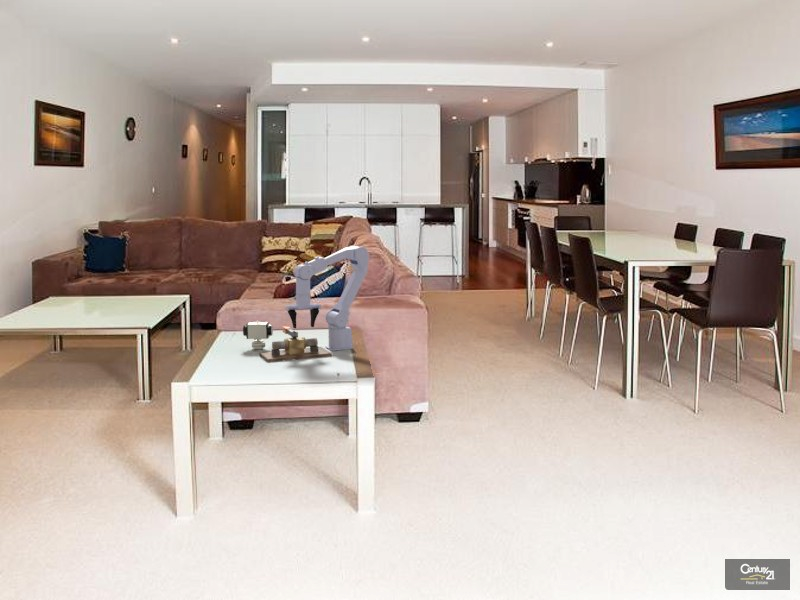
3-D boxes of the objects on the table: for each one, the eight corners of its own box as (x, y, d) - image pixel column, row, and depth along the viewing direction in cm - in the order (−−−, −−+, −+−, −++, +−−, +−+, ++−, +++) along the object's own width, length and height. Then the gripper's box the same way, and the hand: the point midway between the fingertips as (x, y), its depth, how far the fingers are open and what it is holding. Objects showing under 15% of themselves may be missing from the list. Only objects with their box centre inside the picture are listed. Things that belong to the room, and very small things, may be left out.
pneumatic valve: (271, 349, 334) (270, 321, 332) (243, 350, 334) (242, 321, 332) (273, 347, 339) (272, 319, 337) (246, 347, 339) (245, 319, 337)
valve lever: (298, 337, 320) (298, 332, 320) (292, 338, 319) (292, 332, 319) (288, 331, 334) (288, 326, 334) (282, 331, 333) (282, 326, 333)
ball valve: (320, 349, 334) (320, 332, 333) (331, 356, 321) (331, 337, 320) (259, 355, 323) (258, 337, 322) (267, 362, 311) (267, 343, 310)
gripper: (288, 296, 318) (288, 330, 320) (323, 294, 324) (323, 327, 326) (283, 294, 325) (284, 327, 327) (318, 292, 330) (318, 325, 332)
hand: (303, 327), depth 327 cm, fingers open, 7 cm apart
